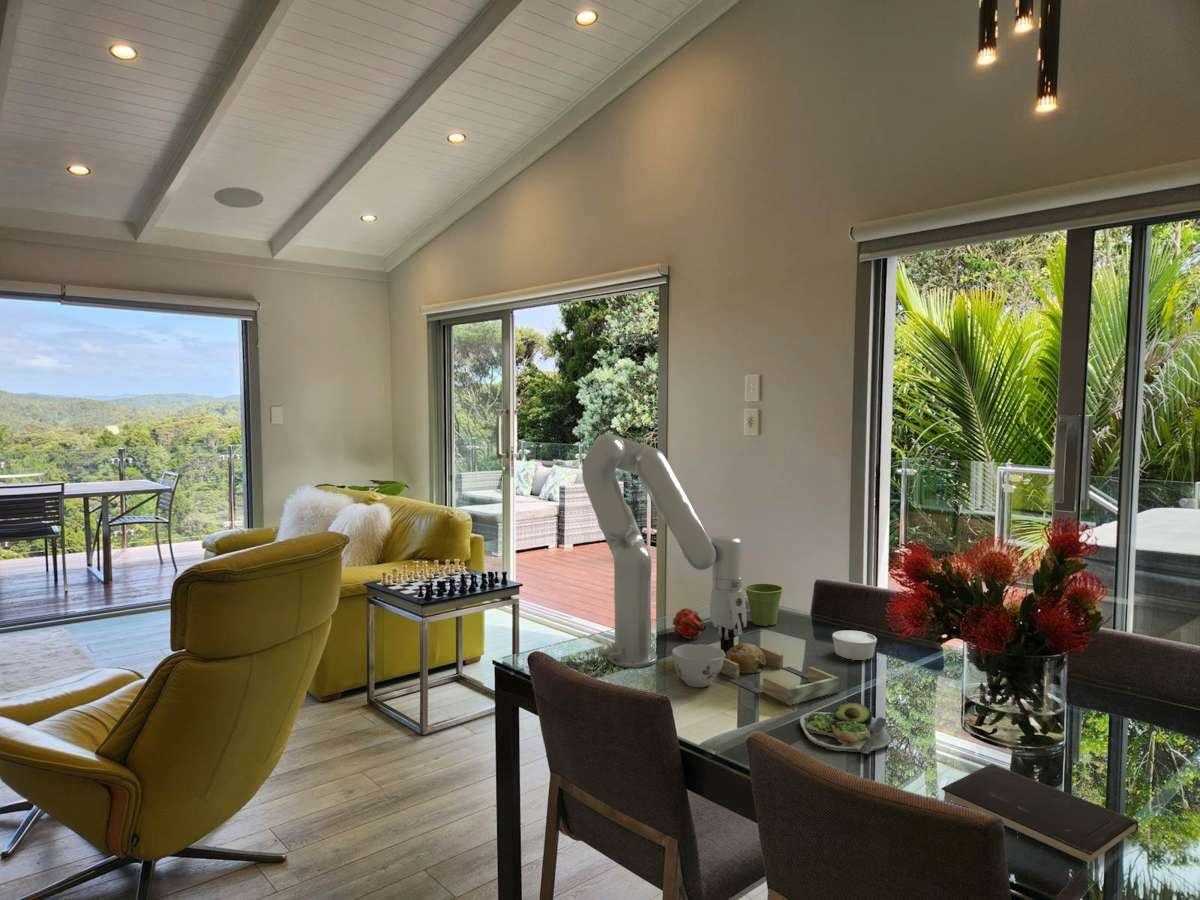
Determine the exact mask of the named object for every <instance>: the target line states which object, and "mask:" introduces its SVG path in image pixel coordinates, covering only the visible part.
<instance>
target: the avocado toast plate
mask: <svg viewBox="0 0 1200 900" xmlns="http://www.w3.org/2000/svg"><path fill="white" fill-rule="evenodd" d="M831 713H832V714H834V719H832V717H831V716H829V715H825V714H831ZM886 724H887V719H886V718H883V717H880V716H879V717H878V718H875V717H873V716H872V711H870V709H869V707H867V706H866V705H865V704H863V703H858V702H848V703H846V702H845V703H841V705H839V706H837V707H836V710H835V711H834V712H825V711H824V712H823V711H821V712H820V711H811V712H807V713H804V714H803V715H801V716H800V718H799V727H800V728H802V729H803V732H804V735H805V736H806V737H807V738H808V740H809V741H811V743H813V742H814V743H815V744H814V743H813V744H814V745H816V744H818V745H821V746H824V747H828V748H838V749H839V748H840V749H857V750H858V751H859V752H861V753H860V754H863V755H864V754H865V755H868V754H870V752H874V751H876V750H879V749H883V748H885V747H887V746H889V745H890V744H891V741H892V739H891V736H890V735H889V733H888V732H887V731H886V729H884V727H885V726H886ZM806 727H807V728H809V729H813V730H816V731H822V732H826V733H833V734H834V736H835V737H836V738H837V739H839V740H841V741H844V742H848V743H850V744H851V745H852V746H836V744H831V743H827V742H824V741H822V740H820V739H818V738H817V737H815V738H814V737H812V736H811V735H809V733H808V732H807V730H806ZM802 729H801V730H802ZM816 738H817V739H816Z"/></svg>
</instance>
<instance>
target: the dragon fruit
mask: <svg viewBox="0 0 1200 900" xmlns="http://www.w3.org/2000/svg"><path fill="white" fill-rule="evenodd" d="M672 619H673V620H672V625H673V626H674V631H675V634H676V633H677V634H678V635H681V636H682V637H683V636H686V637H690V636H691V637H690V639H689V640H693V638H692V637H693V635H694V637H695V635H696V636H697V637H699V636H700V635H701V634H702V632H704V631H706V630H707V625H704V624H705V623H704V621H702V618H701V617H700V616H699V612H698V611H694V610H692V609H691V608H682V609H680V610H679V611H678V612H677V613H675V617H673V618H672ZM680 633H681V634H680ZM677 634H676V635H677Z"/></svg>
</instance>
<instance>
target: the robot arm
mask: <svg viewBox="0 0 1200 900" xmlns="http://www.w3.org/2000/svg"><path fill="white" fill-rule="evenodd" d="M581 470H582V472H581V473H582V474H581V475H582V482H583V484H584V488H585V491H586V493H587V495H588V498H589V501H590V504H591V507H592V508H593V511H594V514H595V516H596V520H597V523H598V527H599V529H600V530H601V532H602V534H603V536H604V539H605V541H606V543H607V546H608V548H609V551H610V552H611V555H612V558H613V566H614V567H613V571H614V574H613V575H614V576H613V577H614V579H613V580H614V581H613V586H614V587H613V593H614V595H613V597H614V600H613V601H614V642H611V643H610V644H611V645H610V646H609V647H608V648H602V649H599V650H598V652H597V655H598V657H599V658H605V657H607V658H608V660H610V661H611V662H612V663H611V662H610V661H609V662H610V663H611V664H613V665H616V666H617V665H618V667H623V668H631V667H636V668H643V667H649V666H652V665H654V664H655V663H656V662H657V661H658V655H657V654H656V653H655V651H652V618H651V617H652V608H651V607H652V605H651V604H652V599H651V596H652V595H651V594H652V591H651V588H652V586H651V585H652V583H651V582H652V569H653V567H652V566H653V565H652V564H653V563H652V555H651V552H650V550H649V548H648V546H647V544H646V542H645V540H644V538H643V535H642V533H641V530H640V528H639V526H638V524H637V521H636V518H635V516H634V513H633V510H632V509H631V507H630V506H629V505H628V503H627V501H626V499H625V497H624V494H623V492H622V490H621V489H622V488H621V487H620V484H619V481H618V479H617V476H616V470H622V471H623V472H626V473H627V472H628V473H630V474H634V475H637V477H638V478H639V479H640V482H641V483H642V485H643V487H644V489H645V491H646V492H647V494H648V496H649V498H650V500H651V501H652V503H653V505H654V507H655V509H656V511H657V513H658V514H659V516H660V517H661V519H662V520H663V522H664V523H665V524H666V526H667V527H668V528H669V530H670V531H671V533H672V535H673V536H674V539H675V540H676V542H677V543H678V545H679V547H680V549H681V553H682V554H683V557H684V559H685V560H686V561H687V562H688V564H689V565H690V566H691V567H692V568H694V569H696V570H699V571H703V570H708V569H709V568H711V567H712V573H711V574H712V587H711V593H710V604H709V617H710V621H711V622H712V625H713V626H714V627H715V628H716V630H717V631H718V637H719V638H720V649H721V650H723V651H724V655H725V654H726V652H727V651H728V650H730V648H732V647H733V646H735V639H736V638H737V637H736V636H740V635H741V636H742V634H743V630H742V629H745V628H747V624H748V623H747V609H746V608H747V606H746V605H747V604H746V598H745V593H744V590H743V589H742V587H743V586H742V581H743V580H742V541H741V539H740V538H739V537H737V536H734V535H733V536H731V535H721V536H709V535H708V534H707V532H706V530H705V529H704V527H703V524H702V523H701V521H700V519H699V518H698V515H697V514H696V513H695V510H694V508H693V505H692V504H691V503H692V502H690V500H689V498H688V496H687V494H686V491H684V489H683V487H682V485H681V483H680V481H679V480H678V478H677V476H676V474H675V473H674V471H673V469H672V467H671V465H670V464H669V461H668V460H667V458H666V456H665V455H664V453H663V452H662V451H661V450H659V449H657V448H656V447H653V446H650V445H646V444H643V443H639V442H636V441H633V440H631V439H628V438H624V437H622V436H619V435H616V434H614V433H603V434H600V435H598V436H597V438H596V439H595V440H594V441H593V444H592V446H591V447H590V448H589V450H588V452H587V453H586V455H585V457H584V459H583V463H582V469H581Z"/></svg>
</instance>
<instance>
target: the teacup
mask: <svg viewBox="0 0 1200 900" xmlns="http://www.w3.org/2000/svg"><path fill="white" fill-rule="evenodd" d="M724 656H725V654H724V651H723V650H721V647H716V646H714V645H709V644H700V643H699V644H692V643H691V644H682V645H679V646H676V647H673V648H672V649H671V657H672V662H673V666H674V668H675V670H676V673H677V674H678V676H679V677H680V679H682V680H683V681H684V683H685V684H686V685H687V686H689V687H691V688H692V687H693V688H706V687H709V686H710V685H711V683H713V682H714V680H715V679H716V678H718V676H719V674H720V673H721V672H720V670H721V668H722V665H723V660H724Z"/></svg>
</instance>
